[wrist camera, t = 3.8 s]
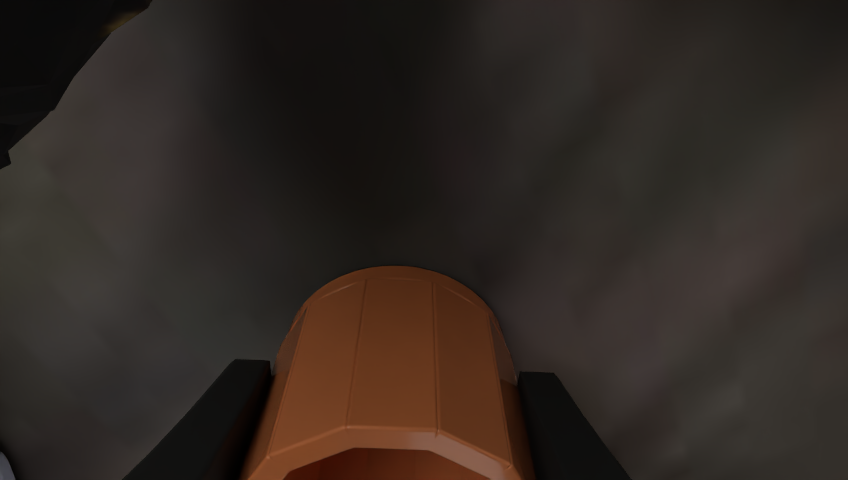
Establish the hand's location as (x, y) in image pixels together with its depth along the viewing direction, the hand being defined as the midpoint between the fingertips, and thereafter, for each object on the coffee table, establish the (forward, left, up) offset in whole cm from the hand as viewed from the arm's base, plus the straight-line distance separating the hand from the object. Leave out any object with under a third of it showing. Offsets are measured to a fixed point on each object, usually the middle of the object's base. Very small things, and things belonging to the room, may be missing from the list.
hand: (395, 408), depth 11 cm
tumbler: (0, 0, -1) cm, 1 cm away
